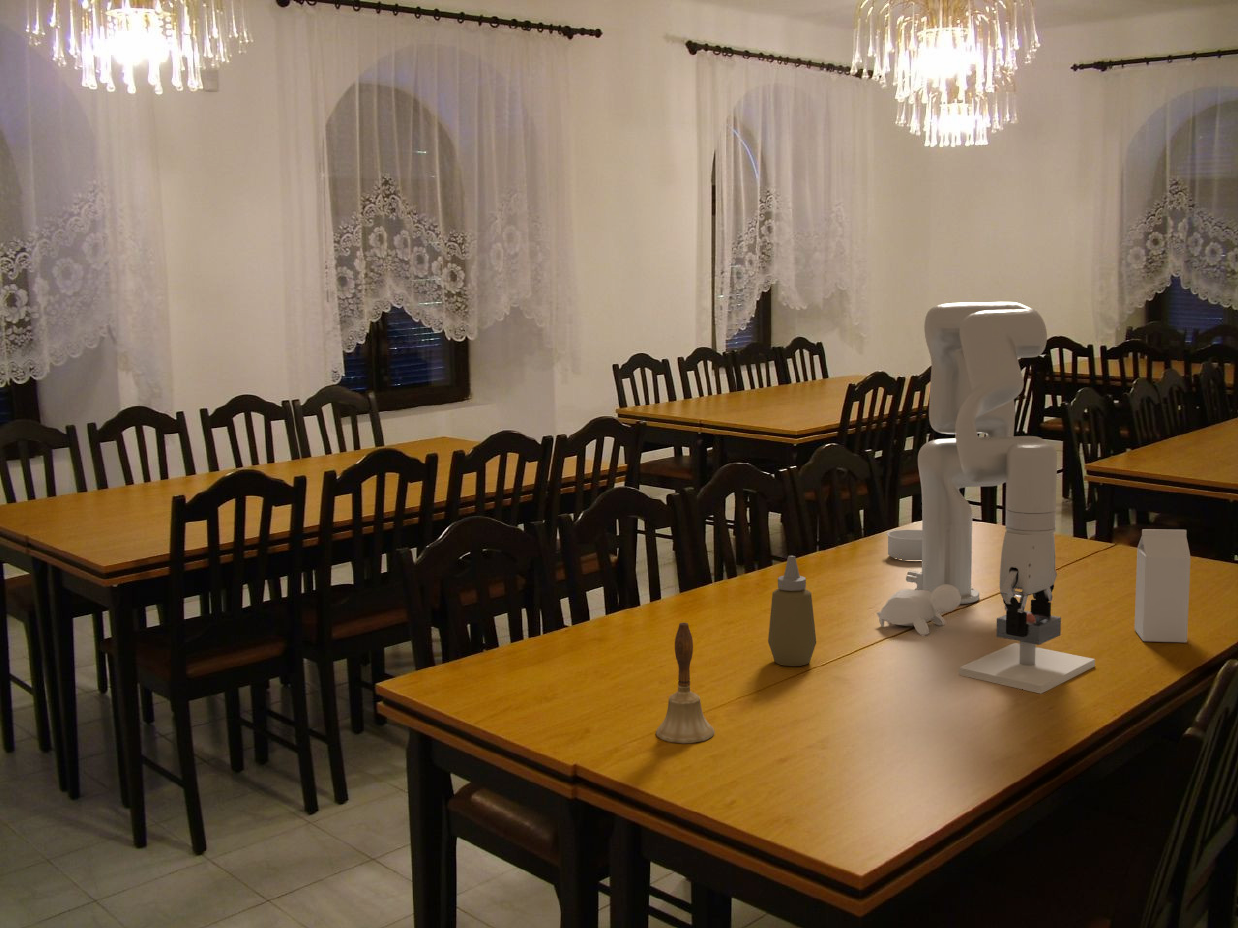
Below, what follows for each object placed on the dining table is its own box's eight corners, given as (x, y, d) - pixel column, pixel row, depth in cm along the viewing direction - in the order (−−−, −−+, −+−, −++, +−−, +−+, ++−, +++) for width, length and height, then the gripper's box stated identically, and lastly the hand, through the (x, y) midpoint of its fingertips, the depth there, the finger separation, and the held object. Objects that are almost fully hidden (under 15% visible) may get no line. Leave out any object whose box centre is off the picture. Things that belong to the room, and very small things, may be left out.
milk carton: (1187, 643, 210) (1191, 534, 208) (1142, 642, 212) (1146, 533, 209) (1177, 631, 217) (1181, 525, 215) (1134, 630, 219) (1137, 525, 216)
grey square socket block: (996, 636, 197) (996, 618, 197) (1018, 627, 202) (1019, 609, 202) (1038, 644, 192) (1039, 626, 192) (1060, 635, 197) (1060, 616, 197)
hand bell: (652, 724, 179) (650, 617, 176) (709, 721, 179) (707, 614, 177) (659, 745, 170) (657, 633, 168) (719, 742, 171) (717, 630, 169)
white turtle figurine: (883, 645, 224) (957, 627, 215) (868, 601, 225) (941, 581, 216) (904, 634, 231) (976, 616, 222) (888, 591, 232) (960, 571, 222)
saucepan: (953, 572, 266) (953, 546, 265) (875, 558, 280) (876, 534, 279) (981, 563, 273) (982, 538, 273) (905, 550, 288) (905, 527, 287)
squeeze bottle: (820, 656, 208) (820, 552, 206) (812, 671, 201) (811, 563, 198) (773, 653, 211) (772, 550, 208) (763, 667, 203) (762, 560, 201)
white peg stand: (958, 674, 197) (959, 616, 196) (1014, 649, 209) (1015, 595, 208) (1041, 693, 187) (1042, 633, 186) (1094, 666, 199) (1096, 609, 198)
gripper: (1034, 510, 203) (1032, 615, 206) (980, 526, 191) (978, 637, 194) (1078, 515, 198) (1076, 623, 200) (1025, 532, 186) (1023, 646, 189)
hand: (1028, 629), depth 197 cm, fingers closed on grey square socket block, 7 cm apart
